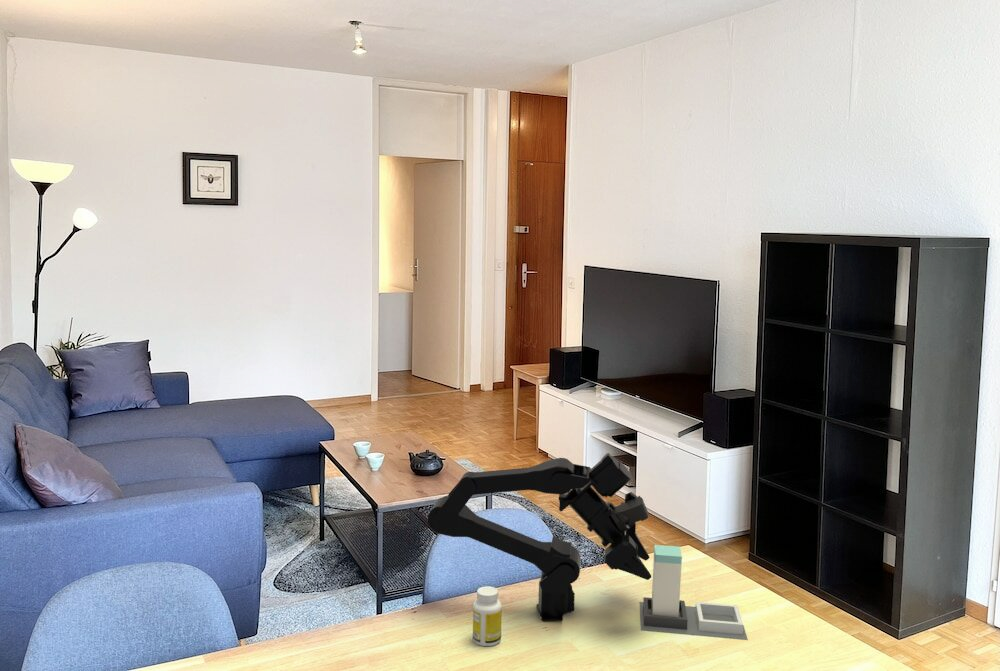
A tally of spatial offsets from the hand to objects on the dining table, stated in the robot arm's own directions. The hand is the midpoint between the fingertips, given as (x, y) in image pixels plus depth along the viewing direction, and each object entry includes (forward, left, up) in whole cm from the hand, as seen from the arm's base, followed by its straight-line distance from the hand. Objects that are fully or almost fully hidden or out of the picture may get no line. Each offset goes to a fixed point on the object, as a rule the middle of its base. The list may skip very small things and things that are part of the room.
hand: (648, 568), depth 163 cm
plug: (+3, -1, -10) cm, 11 cm away
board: (+8, -3, -11) cm, 14 cm away
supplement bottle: (-33, -4, -11) cm, 35 cm away
